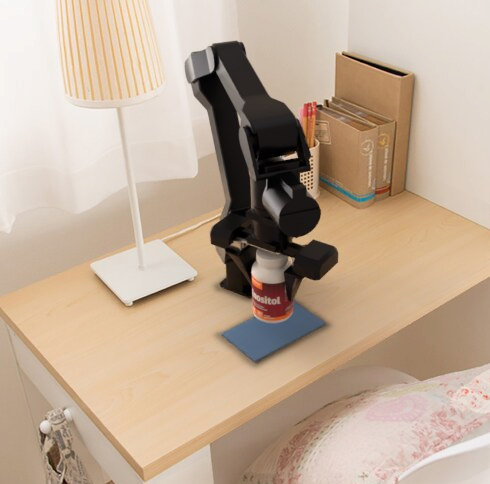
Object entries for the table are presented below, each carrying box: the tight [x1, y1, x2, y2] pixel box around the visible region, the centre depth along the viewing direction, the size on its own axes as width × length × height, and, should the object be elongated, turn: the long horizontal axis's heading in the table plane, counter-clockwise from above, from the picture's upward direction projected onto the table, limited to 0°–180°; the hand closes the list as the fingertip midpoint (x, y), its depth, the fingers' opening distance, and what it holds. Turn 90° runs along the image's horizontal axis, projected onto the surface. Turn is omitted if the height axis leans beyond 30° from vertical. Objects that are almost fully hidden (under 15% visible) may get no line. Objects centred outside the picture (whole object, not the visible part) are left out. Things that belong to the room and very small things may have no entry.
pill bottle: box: [251, 248, 294, 323], centre depth 111 cm, size 6×6×11 cm
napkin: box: [221, 299, 327, 364], centre depth 116 cm, size 14×8×1 cm, turn 129°
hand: (273, 292), depth 112 cm, fingers closed on pill bottle, 6 cm apart
